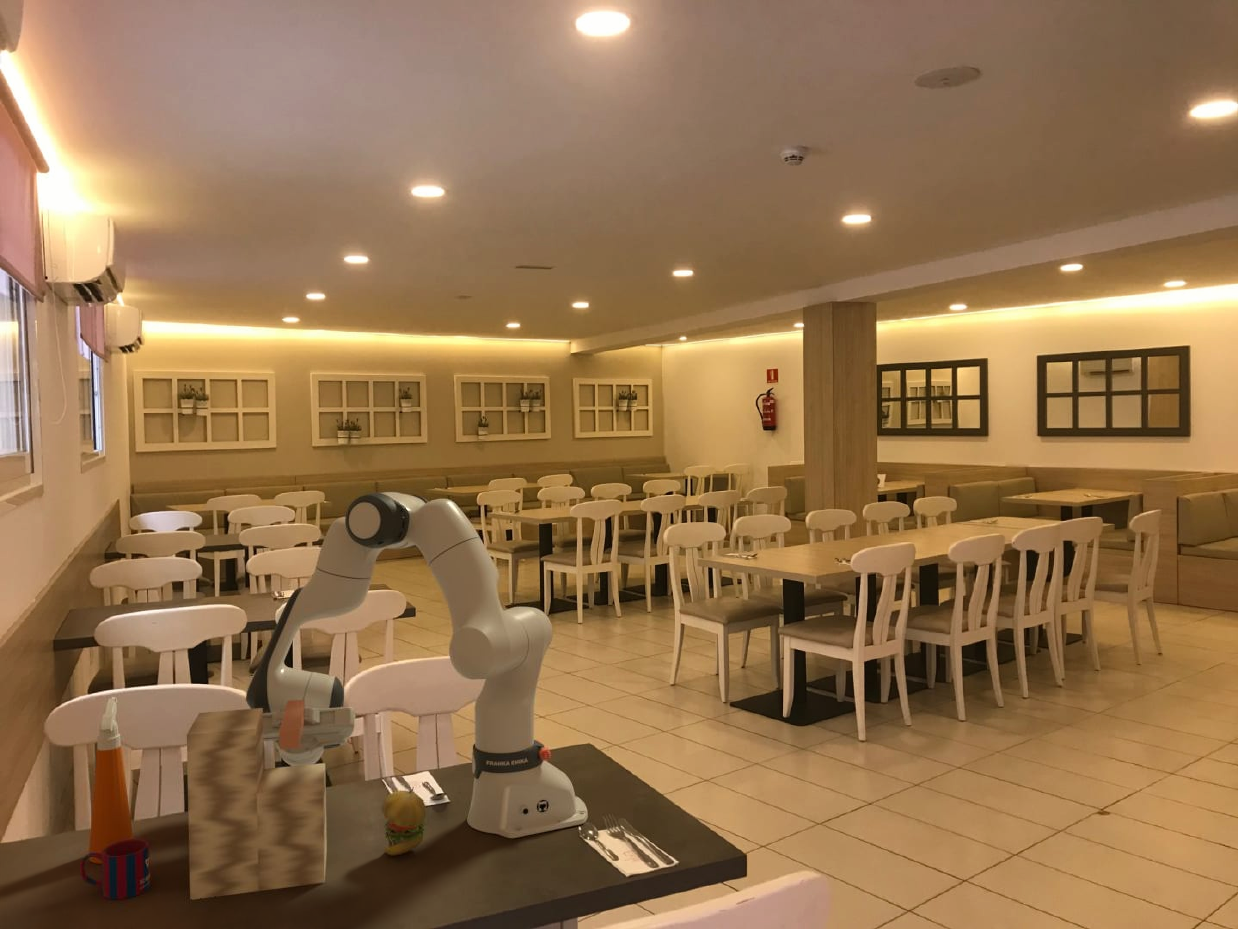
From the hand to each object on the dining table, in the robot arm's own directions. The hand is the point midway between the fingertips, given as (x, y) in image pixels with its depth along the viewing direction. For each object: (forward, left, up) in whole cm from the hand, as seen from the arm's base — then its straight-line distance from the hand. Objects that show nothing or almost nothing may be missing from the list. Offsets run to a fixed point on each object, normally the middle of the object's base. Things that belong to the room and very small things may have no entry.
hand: (294, 713), depth 165 cm
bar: (0, +4, -2) cm, 5 cm away
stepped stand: (+5, +9, -24) cm, 26 cm away
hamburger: (-18, +8, -24) cm, 31 cm away
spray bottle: (+31, -8, -24) cm, 40 cm away
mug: (+27, +8, -24) cm, 37 cm away
